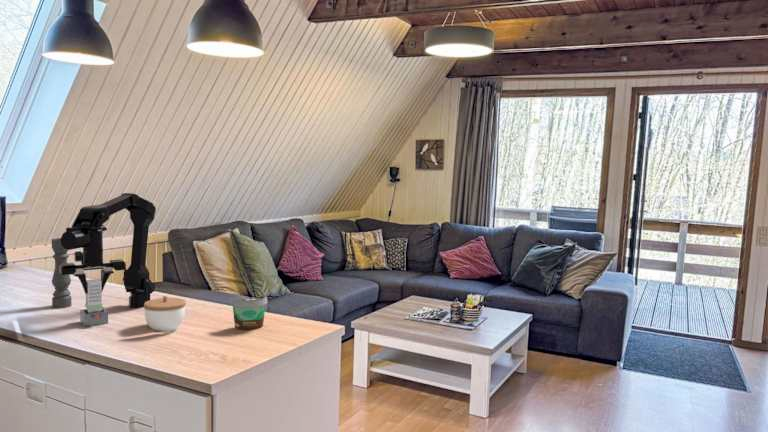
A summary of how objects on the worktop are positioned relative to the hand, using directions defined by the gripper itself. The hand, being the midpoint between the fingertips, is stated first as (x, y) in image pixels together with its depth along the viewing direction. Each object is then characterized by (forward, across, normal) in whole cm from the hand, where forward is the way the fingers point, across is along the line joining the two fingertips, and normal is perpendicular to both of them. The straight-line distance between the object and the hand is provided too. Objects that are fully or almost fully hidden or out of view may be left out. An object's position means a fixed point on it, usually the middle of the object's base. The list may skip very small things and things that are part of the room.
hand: (93, 292), depth 180 cm
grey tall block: (+6, 0, 0) cm, 6 cm away
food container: (+11, -42, +29) cm, 52 cm away
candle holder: (+11, +5, -33) cm, 35 cm away
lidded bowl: (+11, -18, +16) cm, 27 cm away
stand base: (+11, 0, 0) cm, 11 cm away
